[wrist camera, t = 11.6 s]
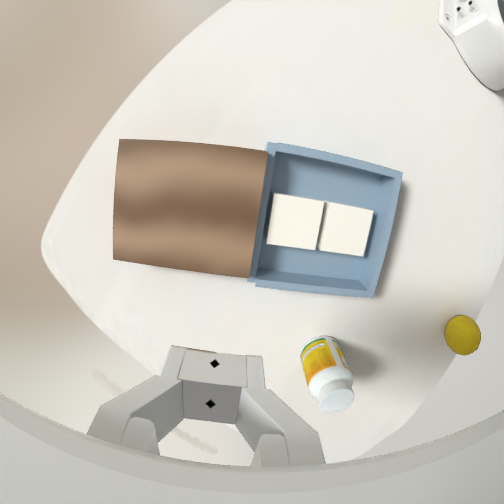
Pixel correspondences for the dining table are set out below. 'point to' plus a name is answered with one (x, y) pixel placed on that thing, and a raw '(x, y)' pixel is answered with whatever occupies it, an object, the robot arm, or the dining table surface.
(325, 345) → the supplement bottle
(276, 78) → the dining table surface
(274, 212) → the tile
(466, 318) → the lemon
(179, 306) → the dining table surface
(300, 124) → the dining table surface
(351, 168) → the box
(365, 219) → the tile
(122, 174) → the flat wooden block
